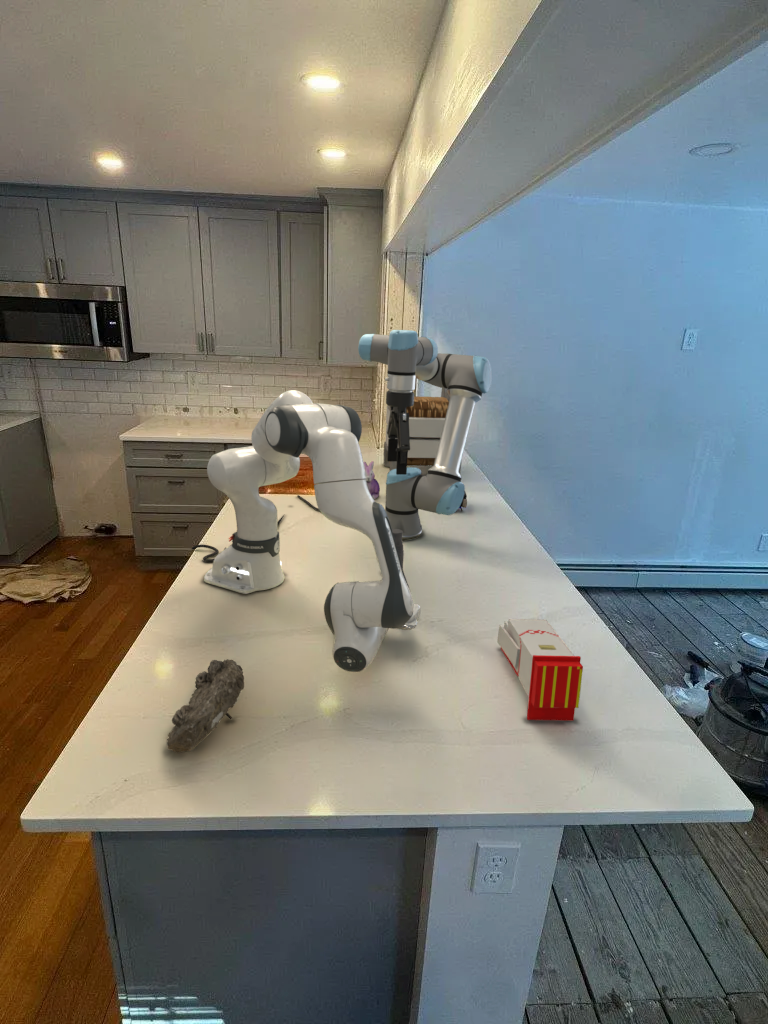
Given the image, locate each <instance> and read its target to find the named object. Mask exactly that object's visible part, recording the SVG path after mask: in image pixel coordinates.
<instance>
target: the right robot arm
mask: <svg viewBox="0 0 768 1024" xmlns="http://www.w3.org/2000/svg"><path fill="white" fill-rule="evenodd" d="M357 350H358V356H359V357H360V358H361V359H362V360H363V361H368V362H376V363H379V364H383V365H386V366H387V374H386V375H387V376H386V377H385V378H384V381H385V382H386V388H387V391H386V392H385V394H386V395H385V404H386V406H387V405H388V406H390V417H389V423H388V430H387V435H388V438H390V439H388V458H387V461H397V466H396V469H393V470H391V471H390V470H389V471H388V473H387V475H386V480H385V504H384V505H385V507H384V509H385V511H386V513H387V516H388V519H389V522H390V525H391V528H392V529H400V530H402V531H403V534H402V541H410V540H415V539H418V538H420V537H421V536H422V535H423V525H422V524H421V518H420V515H419V510H421V511H426V512H429V513H433V514H434V513H435V514H437V515H445V516H452V515H453V514H455V513H456V512H457V511H458V510H459V509H460V508H459V507H460V505H461V503H462V500H463V497H464V490H465V491H466V487H465V484H464V483H463V482H462V475H461V474H459V468H460V464H461V465H462V462H461V459H463V455H464V451H465V447H466V442H467V439H468V435H469V430H470V426H471V422H472V419H473V414H474V409H475V406H476V403H478V402H479V401H481V400H482V396H483V394H487V393H489V392H490V389H491V386H492V381H493V380H492V378H493V377H492V375H493V374H492V366H491V363H490V361H489V359H488V358H487V357H485V356H478V355H475V354H474V355H468V354H458V353H457V354H455V353H442V352H441V353H439V347H438V345H437V343H436V341H435V340H434V339H433V338H431V337H427V336H419V334H418V332H417V331H416V330H413V329H412V330H409V329H392V330H390V332H389V335H388V334H377V333H365V334H363V335H362V336H361V337H360V338H359V340H358V347H357ZM416 380H418V381H420V382H423V383H426V384H429V385H432V386H434V387H438V388H441V389H442V388H446V389H448V390H447V393H448V394H449V396H450V401H449V405H448V409H447V413H446V417H445V421H444V425H443V429H442V434H441V438H440V442H439V446H438V450H437V454H436V458H435V462H434V466H430V468H428V469H427V472H426V474H425V475H424V474H422V470H421V468H419V467H414V466H411V467H409V466H407V457H408V450H410V436H409V413H406V407H411V406H413V405H414V396H415V393H414V391H415V390H416ZM395 438H397V439H395ZM296 497H297V498H298V499H300V500H302V501H303V502H304V503H306V504H307V505H308V506H309V507H310V508H312V509H314V510H316V511H317V512H320V510H319V509H318V507H316V506H314V505H313V504H311V502H309V501H308V500H307V499H305V498H303V497H302V496H301V495H299V494H297V495H296ZM458 508H459V509H458Z"/></svg>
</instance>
